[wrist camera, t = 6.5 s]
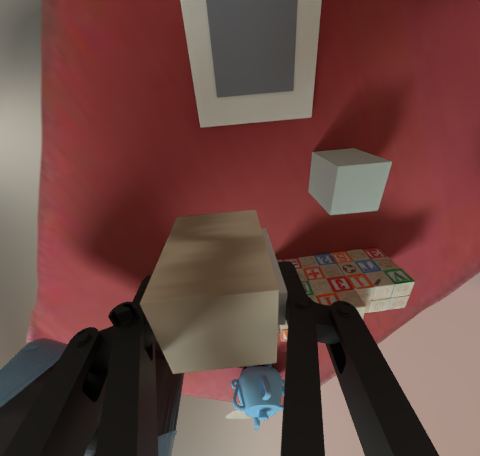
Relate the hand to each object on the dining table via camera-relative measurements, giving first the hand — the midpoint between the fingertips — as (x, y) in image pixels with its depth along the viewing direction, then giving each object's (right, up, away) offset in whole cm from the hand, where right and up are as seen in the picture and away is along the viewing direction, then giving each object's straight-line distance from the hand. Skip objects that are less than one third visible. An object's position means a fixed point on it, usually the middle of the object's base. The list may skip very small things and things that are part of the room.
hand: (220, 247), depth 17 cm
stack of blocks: (+17, -6, +24) cm, 30 cm away
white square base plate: (+3, +22, +6) cm, 23 cm away
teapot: (+6, -40, +44) cm, 59 cm away
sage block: (+15, +10, +14) cm, 23 cm away
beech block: (0, 0, 0) cm, 0 cm away
